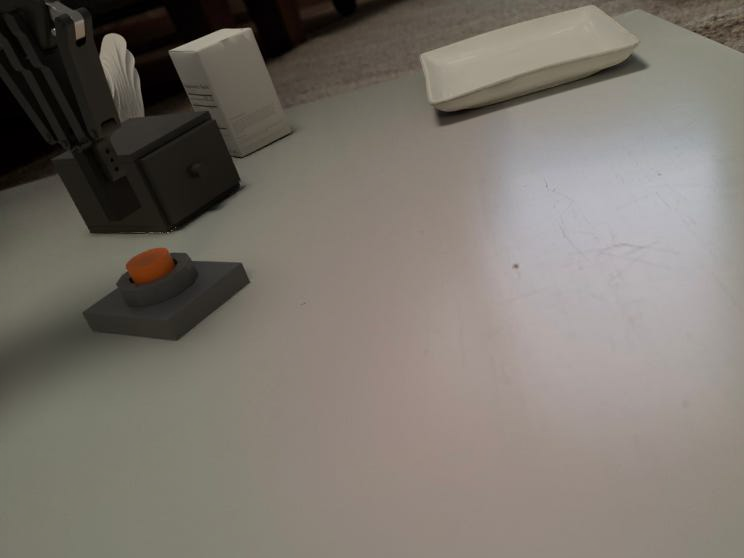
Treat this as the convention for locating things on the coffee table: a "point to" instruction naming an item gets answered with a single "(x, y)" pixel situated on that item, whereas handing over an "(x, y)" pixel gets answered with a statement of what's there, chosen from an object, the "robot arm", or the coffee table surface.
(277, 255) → the coffee table surface
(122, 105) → the shell sculpture
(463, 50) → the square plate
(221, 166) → the pull-out drawer with knob
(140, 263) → the button
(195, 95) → the rectangular carton
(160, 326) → the control block
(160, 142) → the grey drawer box
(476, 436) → the coffee table surface
